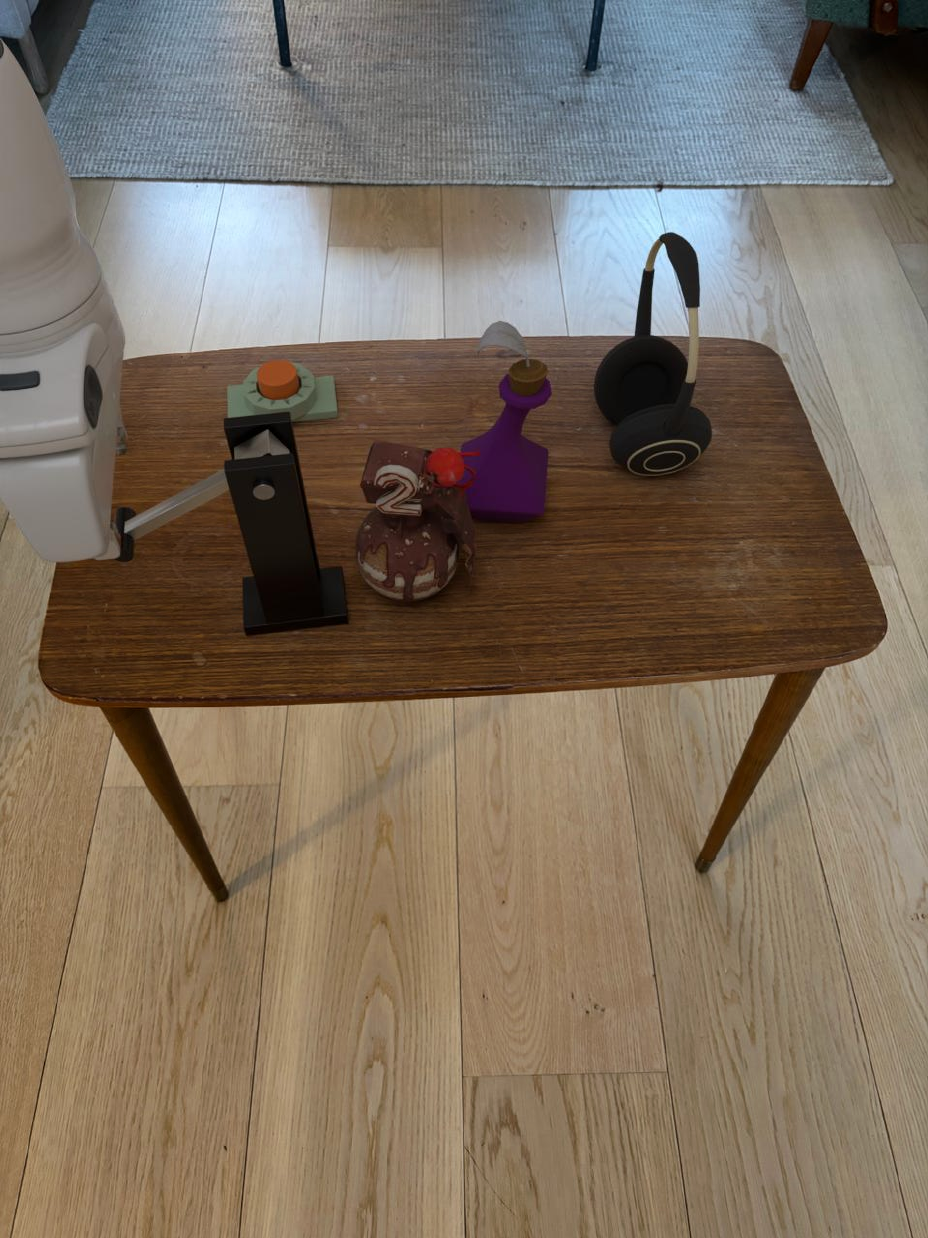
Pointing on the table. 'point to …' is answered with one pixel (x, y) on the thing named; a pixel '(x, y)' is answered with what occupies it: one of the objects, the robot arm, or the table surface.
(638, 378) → the headphones
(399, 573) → the chocolate birthday cake
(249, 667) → the table surface
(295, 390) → the button
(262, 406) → the button box
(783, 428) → the table surface
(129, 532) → the lever
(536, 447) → the perfume bottle
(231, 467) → the bracket
